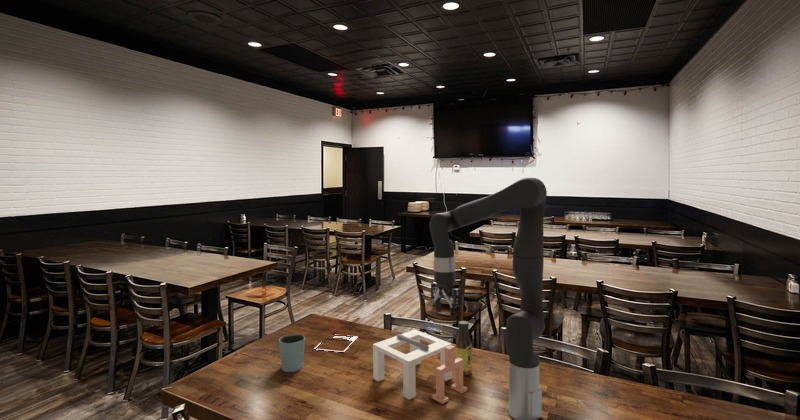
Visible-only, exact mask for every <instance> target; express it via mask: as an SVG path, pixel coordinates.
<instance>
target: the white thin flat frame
mask: <svg viewBox="0 0 800 420" xmlns="http://www.w3.org/2000/svg"><path fill="white" fill-rule="evenodd" d="M352 336H353V337H351V338H350V337H346V336H334V337H333V338H343V339H347V340H349V341H348V342H350V344H349V345H348V346H346V348H345V349H344V350H334V349H333V350H332V349H324V348H319V347H320V346H321V345H322V344H321V342H319V343H318V344H317V345H316V346H314V348H313V349H316V348H317V347H318V346H319V345H320V344H321V345H320V346H319V347H318V348H317V349H316V350H315V351H318V350H324V351H323V352H328V351H334V352H333V353H338V352H345V351H346V350H347V351H348V350H349V348H350V347H351V346H352V345H353V344H354V343H355V342H356V341H357V340H358V339H359V336H357V335H356V336H355V335H352ZM349 338H350V339H349ZM355 340H356V341H355ZM351 341H352V342H351ZM354 341H355V342H354ZM353 342H354V343H353ZM352 343H353V344H352ZM351 344H352V345H351ZM350 345H351V346H350ZM349 346H350V347H349ZM347 351H346V352H347ZM346 352H345V353H346Z"/></svg>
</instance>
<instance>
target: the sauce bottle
mask: <svg viewBox="0 0 800 420" xmlns="http://www.w3.org/2000/svg"><path fill="white" fill-rule="evenodd" d="M469 323H470V322H469V321H468V320H467V321H466V320H461V321H458V322H457V324H458V334H457V336H456V337H455V359H457V358H461V359H463V376H469V375H471V373H472V368H473V363H472V362H473V360H472V358H473V357H472V356H473V352H472V351H473V350H472V349H473V348H472V347H473V343H472V340H471V337H470V333H469V326H470V324H469Z"/></svg>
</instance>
